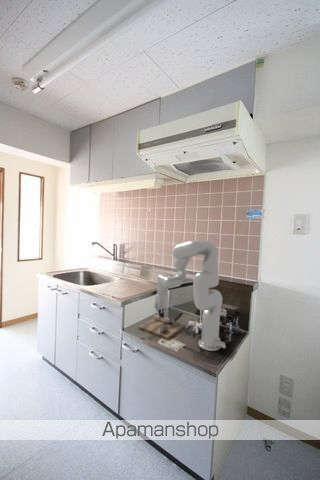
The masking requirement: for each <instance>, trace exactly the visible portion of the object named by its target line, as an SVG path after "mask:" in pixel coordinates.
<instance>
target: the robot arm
mask: <svg viewBox="0 0 320 480" xmlns="http://www.w3.org/2000/svg"><path fill="white" fill-rule="evenodd" d="M218 252H219V251H218V248H217V246H216V244H214V243H213V242H211V241H209V240H191V241H186V242H183V243H180V244H176V245H175V246H174V247H173V249H172V255H173V257H174V258H175V259H174V261H173V266H174V268H175V270H176V269H177V272H176V274H175V275H171V276H168V274H165V273H164V274H163V273H161V274H158V275H157V283H156V284H157V287H156V289H157V290H156V294H155V298H154V309H155V311H156V312H158V316H162V317H165V312H166V310H167V309H168V308H169V301H170V300H169V299H170V298H169V293H168V292H169V289H173V288H177V287H180V286H181V285H182V284H183V282H184V281H185V279H186V276H187V270H186V269H187V266H189V263H190V262H191V259H192V258H193V257H196V256H197V257H199V256H203V259H202V271H199V272H197V273H196V274H195V275H194V277H193V279H192V290H193V291H192V293H193V302H194V303H193V304H194V306H195V308H196V309H198V310H199V311H200V310H201V311H203V315H202V326H201V334H200V335H201V338H200V339H198V341H197V342H198V346H199V347H200V348H201V349H203V350H205V351H209V352H216V351H219V350H221V348H222V349H226V346H227V345H226V342H224V341H221V338H220V337H219V334H220V321H221V320H220V319H221V309H222V304H223V296H222V293H221V292H220V291H219V290H218V289H213V288H215V287H217V286H218V285H219V284H220V283H219V282H220V276H219V275H220V274H219V253H218Z"/></svg>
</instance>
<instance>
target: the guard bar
mask: <svg viewBox="0 0 320 480" xmlns="http://www.w3.org/2000/svg"><path fill="white" fill-rule="evenodd" d="M152 319H155V320H159V321H162V322H166V323H169V324H174V323H175V318H173V317H170V318H168V317H165V316H164V317H162V316H159V314H154V315H153V318H152Z"/></svg>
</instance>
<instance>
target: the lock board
mask: <svg viewBox="0 0 320 480" xmlns="http://www.w3.org/2000/svg"><path fill="white" fill-rule="evenodd" d="M164 325H167V326H168V330H167V331H166V332H165V333H160V328H161V327H162V326H164ZM184 329H185V325H183V324H180V323H177V322H174V324H169V323H166V322H162V321H159V320H155V319H153V318H152V319H150V320H148V321H146V322H145V323H143V324H141V325H139V326H138V330H142V331H144V332H146V333H148V334H152V335H154V336H157V337H160V338H162V339H164V340H170V339H171V338H172V337H173V336H174V335H176V334H178V333H179V332H180V331H182V330H184Z"/></svg>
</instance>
